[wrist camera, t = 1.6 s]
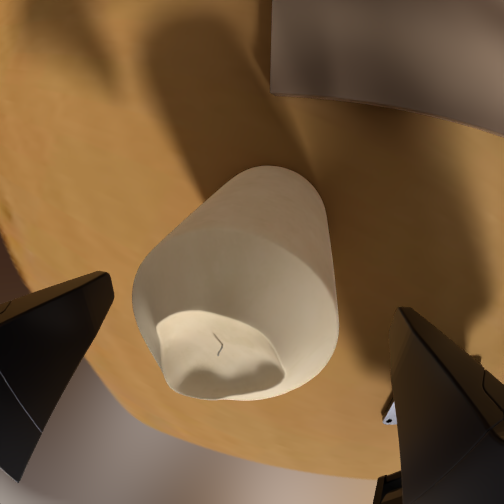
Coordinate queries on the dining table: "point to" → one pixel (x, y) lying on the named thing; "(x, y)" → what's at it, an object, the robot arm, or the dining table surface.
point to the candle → (242, 291)
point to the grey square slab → (394, 56)
